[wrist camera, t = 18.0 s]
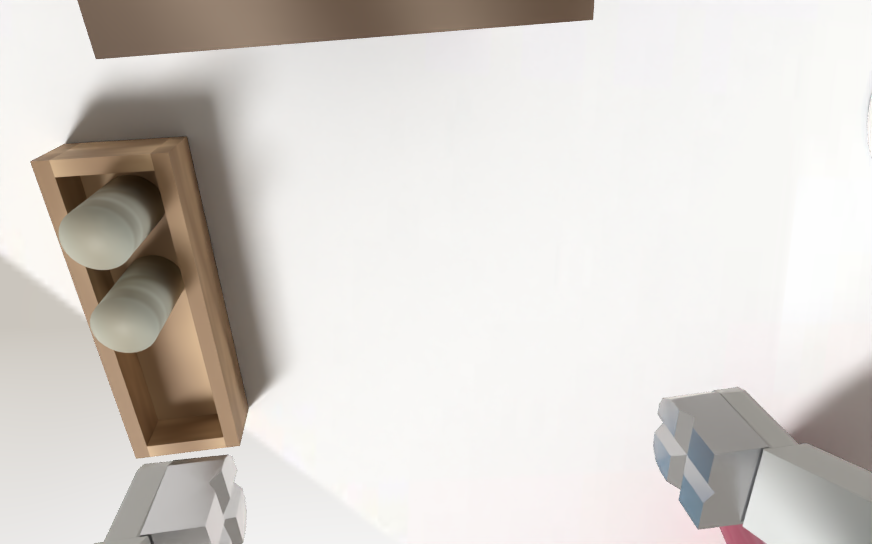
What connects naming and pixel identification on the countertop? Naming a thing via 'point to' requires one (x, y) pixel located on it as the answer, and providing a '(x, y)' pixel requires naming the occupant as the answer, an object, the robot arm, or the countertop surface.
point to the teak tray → (196, 326)
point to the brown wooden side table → (297, 21)
